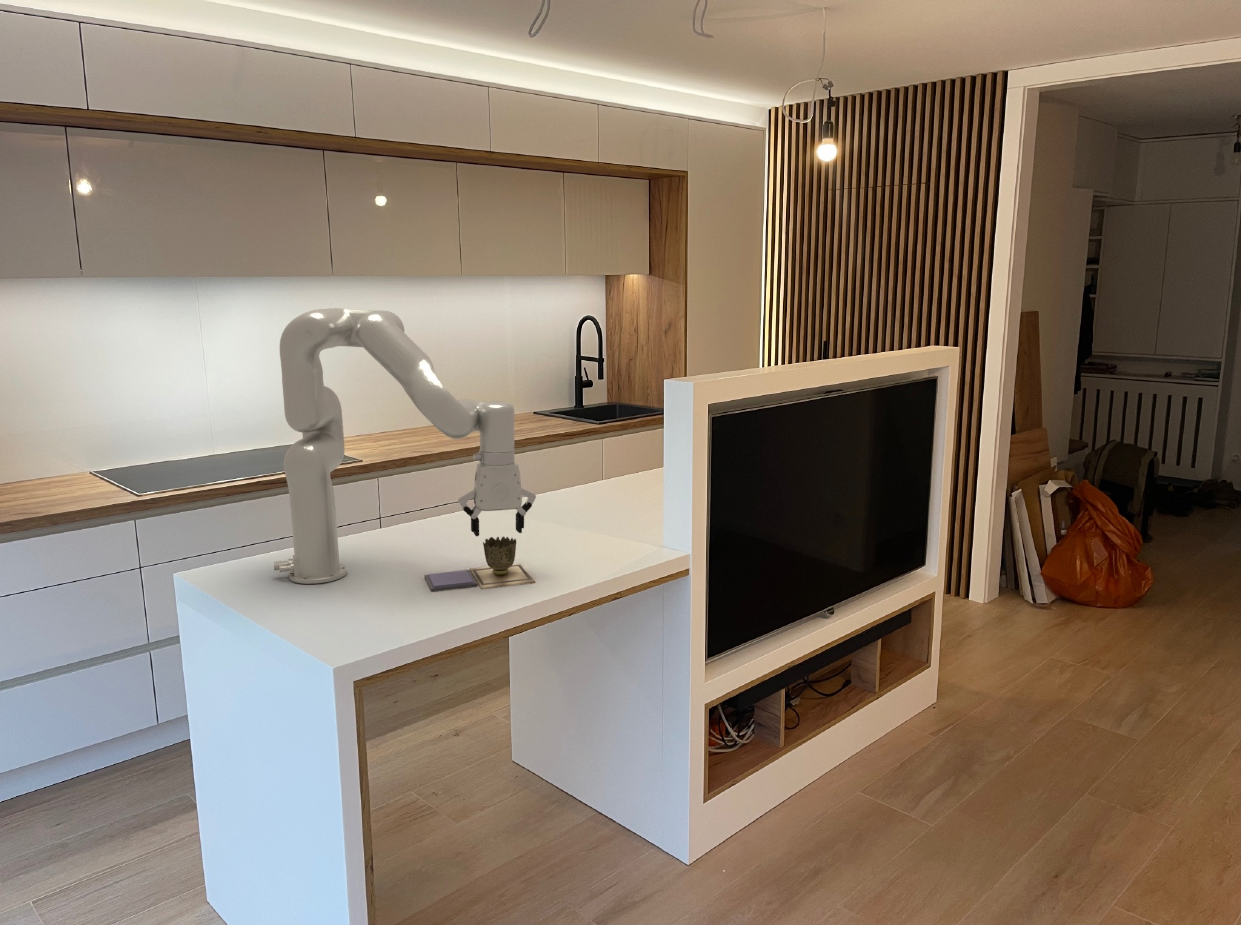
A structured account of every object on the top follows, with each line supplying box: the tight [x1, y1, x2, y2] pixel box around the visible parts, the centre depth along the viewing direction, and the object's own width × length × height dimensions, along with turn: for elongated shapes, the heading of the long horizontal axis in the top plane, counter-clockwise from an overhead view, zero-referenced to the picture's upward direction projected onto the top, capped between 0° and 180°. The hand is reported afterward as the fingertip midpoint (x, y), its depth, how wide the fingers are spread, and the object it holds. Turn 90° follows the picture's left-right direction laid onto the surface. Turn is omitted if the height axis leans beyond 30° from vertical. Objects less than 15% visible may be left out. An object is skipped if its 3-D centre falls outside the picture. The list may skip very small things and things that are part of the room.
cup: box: [482, 536, 517, 576], centre depth 209 cm, size 8×7×8 cm
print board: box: [468, 562, 536, 590], centre depth 210 cm, size 12×14×1 cm
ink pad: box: [424, 569, 478, 593], centre depth 206 cm, size 10×10×1 cm
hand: (497, 533), depth 208 cm, fingers open, 9 cm apart
